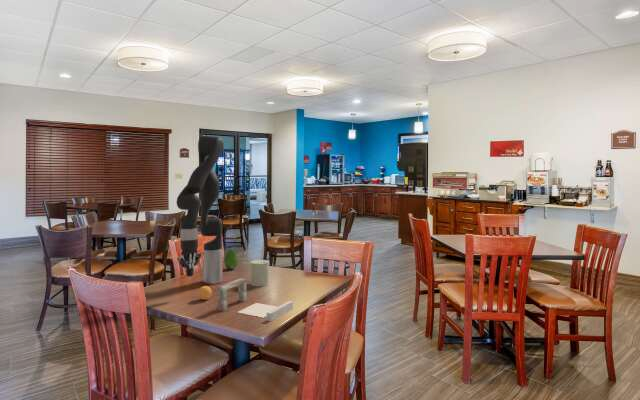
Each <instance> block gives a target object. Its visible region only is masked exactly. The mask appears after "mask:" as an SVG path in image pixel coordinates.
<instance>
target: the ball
mask: <svg viewBox="0 0 640 400" xmlns="http://www.w3.org/2000/svg"><path fill="white" fill-rule="evenodd" d="M212 293H213V292H212V288H211V287H209V286H208V285H204V286H201V287H199V289H198V290H197V296H198V298H199V299H200V300H203V301H206V300H208V299H210V298H211V297H212Z"/></svg>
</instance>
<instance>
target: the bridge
mask: <svg viewBox="0 0 640 400" xmlns="http://www.w3.org/2000/svg"><path fill="white" fill-rule="evenodd" d="M247 282H248V281H247V278H242V277H241V278H239V279H235V280H232V281H230V282H227V283H225V284H222V285H219V286H217V290H218V291H217V304H218V305H217V308H218V309H217V310H218V311H221V312H224V311H227V310H228V290H229V289H231V288H234V287H237V286H238V287H237V288H238V290H237V291H238V292H237V293H238V302H247V299H248V297H247V296H248V294H247V293H248V290H247V289H248V287H247V286H248V284H247Z"/></svg>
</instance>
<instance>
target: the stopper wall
mask: <svg viewBox="0 0 640 400" xmlns="http://www.w3.org/2000/svg"><path fill="white" fill-rule="evenodd" d="M293 306H294V302H293V301H292V300H288V301H286V302H284V303H283V304H280V305H279V306H276V308H275V309H273V310H271V311H269V312H267V316H266V321H267V322H268V321H269V322H272V321H275V320H276V319H278V318H279V317H281V316H282V315H285V313H286V314H287V313H288V312H289V311H292V310H293V309H294V307H293Z"/></svg>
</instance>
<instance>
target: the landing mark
mask: <svg viewBox="0 0 640 400" xmlns="http://www.w3.org/2000/svg"><path fill="white" fill-rule="evenodd" d="M276 307H277V306H275V305H270V304H265V303H264V304H263V303H258V302H255V303H253V304H250V305H249V306H246V307H245V308H243V309H240V310H239V311H237V312H236V313H237V314H243V315H246V316H250V317H251V316H252V317H256V316H257V318H261V317H262V319H265V318H267V312H269V311H271V310H273V309H275V308H276ZM264 317H265V318H264Z"/></svg>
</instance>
